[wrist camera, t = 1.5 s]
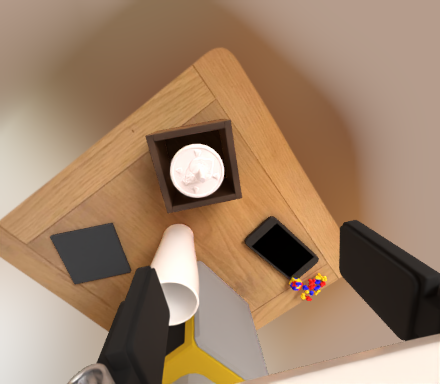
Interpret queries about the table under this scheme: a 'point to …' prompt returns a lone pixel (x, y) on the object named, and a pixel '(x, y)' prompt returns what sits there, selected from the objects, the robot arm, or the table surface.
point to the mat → (91, 253)
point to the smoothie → (197, 170)
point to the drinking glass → (178, 272)
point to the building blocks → (297, 285)
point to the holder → (162, 166)
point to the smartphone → (281, 248)
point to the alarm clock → (214, 339)
